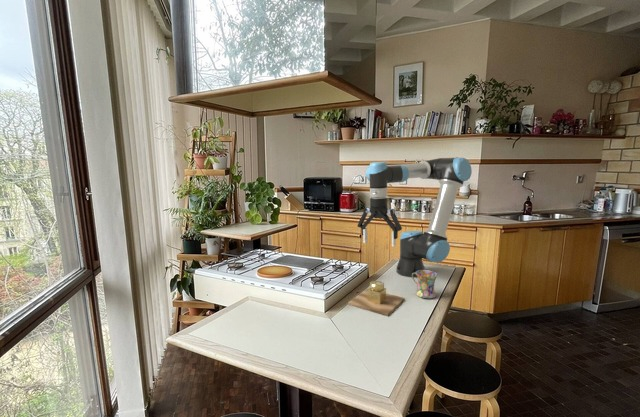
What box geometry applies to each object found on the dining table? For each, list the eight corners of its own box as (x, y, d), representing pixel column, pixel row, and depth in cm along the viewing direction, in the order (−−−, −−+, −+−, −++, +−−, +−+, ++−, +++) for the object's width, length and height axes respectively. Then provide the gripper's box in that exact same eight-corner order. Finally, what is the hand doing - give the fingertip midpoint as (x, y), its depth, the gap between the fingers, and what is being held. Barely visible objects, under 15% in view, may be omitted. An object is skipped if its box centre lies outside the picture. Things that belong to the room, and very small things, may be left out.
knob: (367, 300, 132) (367, 283, 131) (373, 296, 137) (373, 278, 136) (380, 304, 128) (380, 286, 127) (386, 299, 133) (386, 281, 132)
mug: (440, 296, 138) (441, 273, 137) (429, 302, 132) (430, 278, 131) (417, 288, 147) (417, 267, 146) (405, 293, 141) (406, 271, 140)
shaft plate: (367, 290, 145) (367, 280, 145) (404, 299, 135) (404, 289, 134) (347, 304, 131) (348, 293, 130) (387, 316, 120) (387, 304, 120)
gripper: (349, 197, 139) (350, 243, 143) (403, 199, 126) (403, 249, 129) (356, 195, 146) (358, 239, 149) (409, 197, 132) (409, 245, 135)
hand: (379, 244), depth 139 cm, fingers open, 13 cm apart
